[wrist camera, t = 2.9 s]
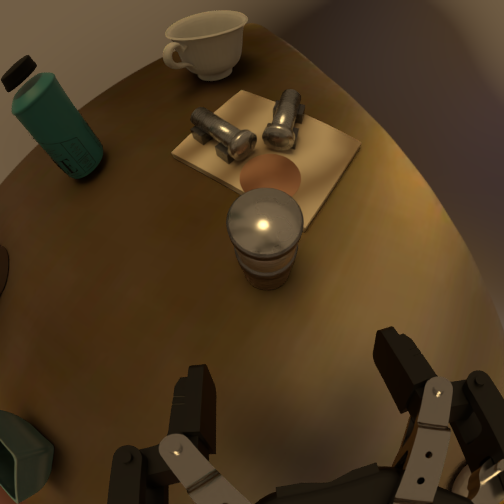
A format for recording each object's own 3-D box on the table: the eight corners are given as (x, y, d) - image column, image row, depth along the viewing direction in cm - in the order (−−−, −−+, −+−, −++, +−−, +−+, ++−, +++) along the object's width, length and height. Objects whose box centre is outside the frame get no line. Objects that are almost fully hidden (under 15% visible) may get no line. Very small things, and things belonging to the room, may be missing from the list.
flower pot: (23, 402, 21) (-27, 403, 13) (67, 443, 20) (16, 457, 11) (19, 447, 19) (-25, 454, 10) (61, 487, 17) (18, 505, 9)
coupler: (231, 273, 26) (210, 228, 17) (260, 235, 27) (255, 174, 18) (273, 301, 25) (275, 271, 15) (301, 261, 26) (318, 209, 17)
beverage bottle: (112, 143, 33) (48, 36, 15) (105, 180, 31) (21, 66, 12) (77, 156, 34) (8, 64, 15) (68, 192, 31) (-19, 98, 12)
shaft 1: (258, 150, 30) (256, 126, 26) (234, 169, 29) (230, 145, 25) (213, 120, 32) (207, 97, 28) (191, 136, 31) (183, 113, 27)
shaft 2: (293, 156, 29) (295, 131, 25) (261, 150, 30) (260, 125, 26) (304, 112, 32) (306, 88, 28) (277, 107, 32) (277, 84, 28)
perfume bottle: (488, 438, 16) (553, 451, 5) (481, 491, 13) (533, 513, 2) (443, 468, 16) (507, 499, 5) (437, 520, 13) (485, 556, 2)
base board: (172, 158, 31) (169, 153, 30) (242, 95, 35) (241, 89, 34) (303, 233, 27) (304, 229, 26) (359, 147, 30) (361, 141, 29)
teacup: (153, 95, 37) (133, 47, 27) (209, 52, 41) (200, 8, 31) (211, 111, 34) (197, 51, 25) (265, 63, 38) (263, 13, 28)
